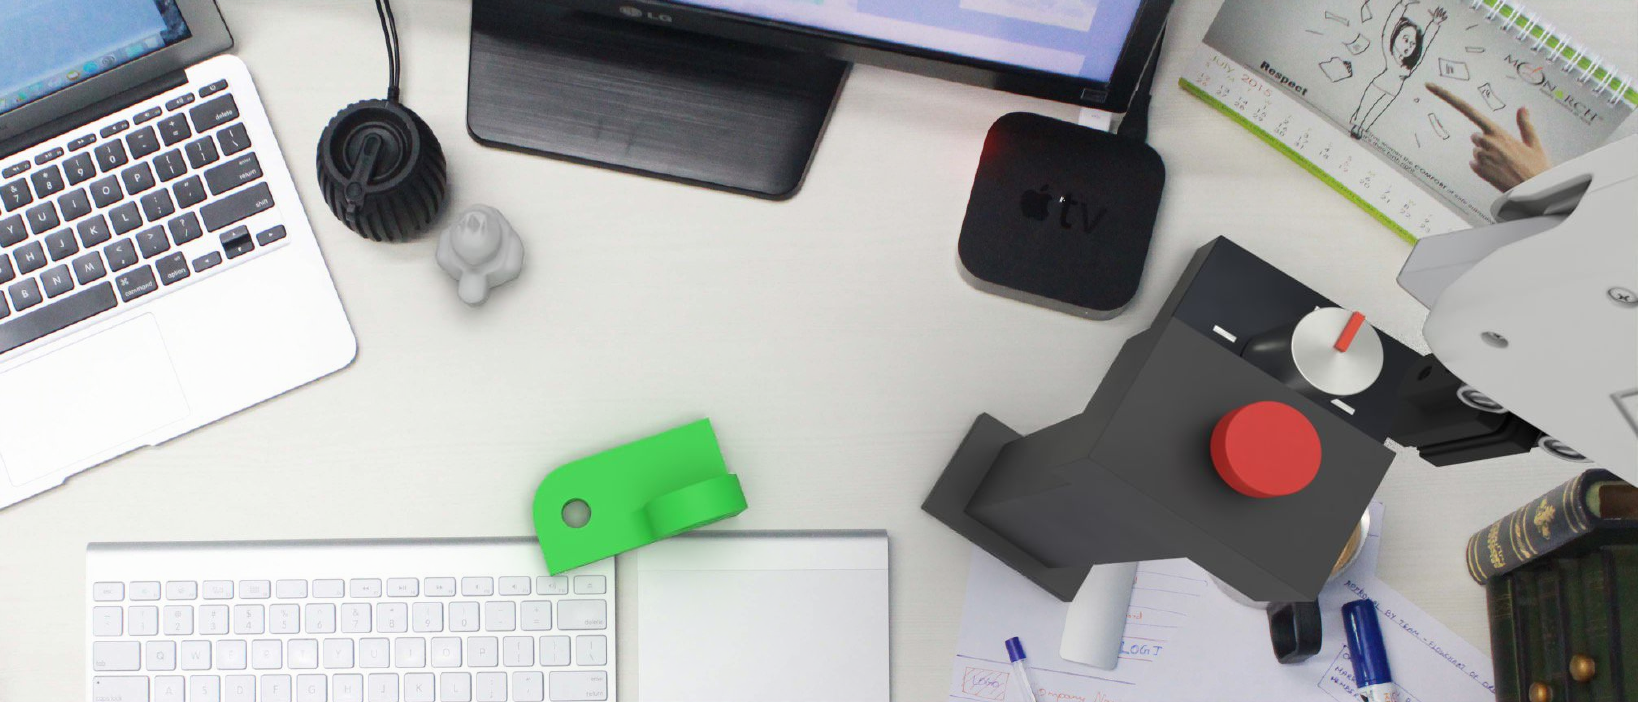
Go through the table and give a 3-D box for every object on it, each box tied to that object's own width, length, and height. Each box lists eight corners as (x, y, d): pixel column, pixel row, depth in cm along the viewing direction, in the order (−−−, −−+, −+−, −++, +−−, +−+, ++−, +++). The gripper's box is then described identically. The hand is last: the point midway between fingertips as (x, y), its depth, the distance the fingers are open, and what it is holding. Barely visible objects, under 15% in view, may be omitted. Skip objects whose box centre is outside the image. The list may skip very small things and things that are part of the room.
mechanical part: (706, 422, 74) (717, 400, 66) (738, 514, 73) (753, 503, 65) (522, 482, 74) (511, 467, 66) (551, 576, 72) (544, 572, 65)
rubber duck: (533, 224, 77) (524, 181, 69) (517, 322, 76) (506, 290, 68) (450, 213, 77) (432, 169, 70) (433, 311, 76) (413, 277, 68)
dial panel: (1398, 369, 74) (1433, 359, 71) (1316, 516, 72) (1347, 512, 69) (1197, 248, 76) (1222, 233, 73) (1112, 389, 74) (1134, 379, 71)
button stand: (1121, 505, 73) (1397, 453, 47) (1064, 602, 72) (1315, 602, 46) (978, 414, 74) (1173, 315, 49) (920, 508, 73) (1087, 457, 47)
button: (1320, 439, 46) (1339, 435, 45) (1276, 516, 46) (1294, 514, 45) (1237, 388, 47) (1253, 382, 46) (1193, 463, 46) (1208, 460, 45)
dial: (1300, 427, 70) (1361, 412, 65) (1224, 380, 71) (1278, 361, 65) (1340, 359, 71) (1403, 338, 66) (1264, 313, 72) (1321, 288, 66)
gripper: (1669, 160, 19) (1153, 376, 37) (2662, 714, 17) (1606, 657, 35) (1855, -188, 20) (1267, 185, 38) (2802, 292, 18) (1712, 446, 36)
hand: (1431, 410), depth 36 cm, fingers closed
